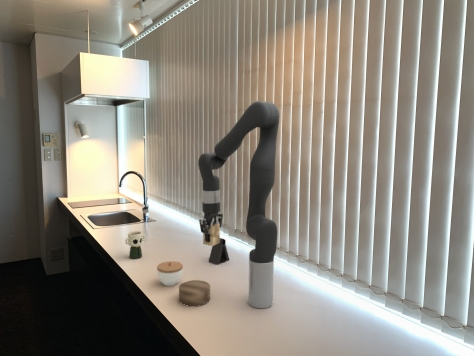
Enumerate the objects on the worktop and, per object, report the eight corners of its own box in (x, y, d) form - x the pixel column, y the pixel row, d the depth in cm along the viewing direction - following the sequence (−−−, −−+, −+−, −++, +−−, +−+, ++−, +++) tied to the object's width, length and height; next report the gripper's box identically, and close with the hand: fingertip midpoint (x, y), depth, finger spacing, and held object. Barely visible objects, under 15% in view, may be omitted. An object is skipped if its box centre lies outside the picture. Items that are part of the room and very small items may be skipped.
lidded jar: (167, 290, 143) (167, 268, 142) (152, 283, 150) (151, 262, 149) (187, 282, 151) (187, 261, 150) (172, 275, 158) (172, 255, 157)
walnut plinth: (192, 289, 144) (192, 277, 144) (216, 296, 138) (216, 284, 137) (172, 301, 134) (172, 288, 133) (197, 309, 128) (197, 296, 127)
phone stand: (217, 265, 172) (217, 241, 170) (208, 262, 175) (208, 238, 174) (229, 260, 178) (229, 237, 177) (221, 257, 182) (221, 235, 181)
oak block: (210, 240, 152) (210, 222, 151) (219, 242, 149) (219, 224, 148) (203, 243, 148) (203, 225, 146) (212, 246, 145) (212, 227, 144)
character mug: (129, 261, 174) (128, 236, 173) (122, 258, 179) (121, 233, 178) (148, 256, 182) (148, 232, 180) (141, 253, 187) (141, 229, 185)
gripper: (213, 197, 154) (214, 234, 156) (193, 202, 142) (193, 243, 144) (228, 198, 150) (228, 237, 152) (208, 204, 138) (208, 246, 140)
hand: (211, 240), depth 148 cm, fingers closed on oak block, 5 cm apart
